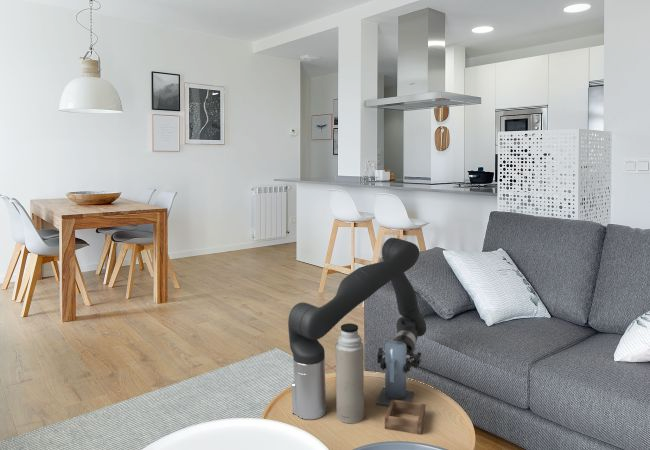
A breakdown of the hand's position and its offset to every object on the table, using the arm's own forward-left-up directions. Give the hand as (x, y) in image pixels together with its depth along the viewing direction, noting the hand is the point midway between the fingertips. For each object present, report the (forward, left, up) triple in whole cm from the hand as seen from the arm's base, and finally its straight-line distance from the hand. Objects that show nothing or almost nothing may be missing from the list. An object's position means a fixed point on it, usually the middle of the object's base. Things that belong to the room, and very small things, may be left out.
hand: (394, 368), depth 156 cm
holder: (+5, -9, -11) cm, 15 cm away
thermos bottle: (-11, -11, -12) cm, 19 cm away
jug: (0, +1, -9) cm, 10 cm away
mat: (0, +2, -11) cm, 12 cm away
